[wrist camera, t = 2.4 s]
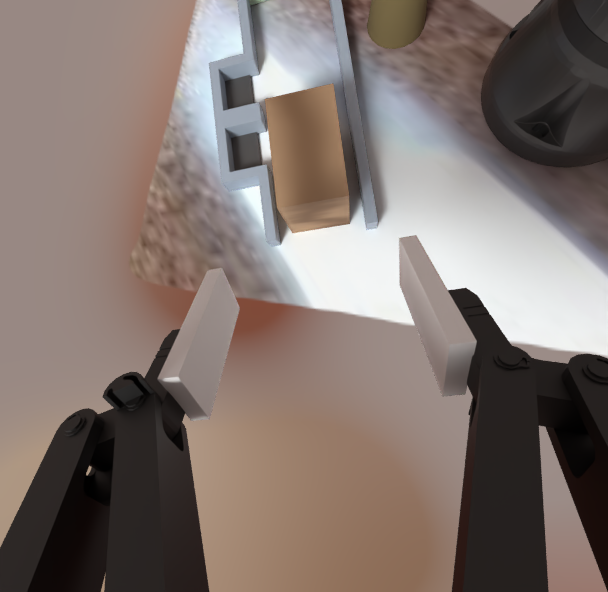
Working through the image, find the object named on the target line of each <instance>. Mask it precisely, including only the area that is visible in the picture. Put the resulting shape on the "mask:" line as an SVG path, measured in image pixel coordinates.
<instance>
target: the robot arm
mask: <svg viewBox="0 0 608 592" xmlns="http://www.w3.org/2000/svg"><path fill="white" fill-rule="evenodd" d="M481 102H482V109H483V113H484V116H485V119H486V121H487V124H488V126H489V127H490V129H491V131H492V132H493V134H494V135H495V136H496V137H497V139H498V140H499V141H500V142H501V143H502V144H503V145H505V146H506V147H507V148H508V149H510V150H511V151H512V152H514V153H515V154H517V155H519V156H521V157H523V158H525V159H527V160H530V161H533V162H536V163H539V164H543V165H549V166H556V167H575V166H583V165H588V164H592V163H596V162H599V161H602V160H605V159H607V158H608V0H541V1H540V2H539V3H538V4H537V5H536V6H535V7H534V9H533V10H532V11H531V12H530V14H528V15H527V16H526V17H525V18H523V19H522V20H521V21H520V22H519V23H518V24H517V25H516V26H515V27H514V28H513V29H512V30H511V31H510V33H509V34H508V35H507V36H506V38H505V39H504V40H503V42H502V43H501V45H500V46H499V48H498V50H497V52H496V54H495V56H494V58H493V59H492V61H491V63H490V65H489V67H488V69H487V71H486V74H485V77H484V80H483V84H482V91H481ZM399 259H400V287H401V289H402V292H403V294H404V297H405V300H406V302H407V305H408V308H409V310H410V313H411V315H412V318H413V321H414V323H415V326H416V328H417V331H418V334H419V336H420V339H421V342H422V344H423V347H424V349H425V352H426V355H427V357H428V360H429V362H430V365H431V367H432V370H433V372H434V376H435V378H436V381H437V383H438V386H439V388H440V391H441V394H442V396H452V395H462V394H463V395H464V394H465V393H466V389H467V385H468V387H469V389H470V392H471V394H472V396H473V399H472V402H471V406H470V410H469V415H470V420H469V421H470V422H469V431H468V440H467V450H466V459H465V469H464V479H463V488H462V498H461V508H460V517H459V527H458V538H457V546H456V556H455V565H454V575H453V585H452V592H548V579H547V578H548V577H547V560H546V543H545V526H544V511H543V492H542V477H541V476H542V475H541V460H540V459H541V458H540V441H539V425H540V426H545V427H546V429H547V432H548V435H549V437H550V440H551V442H552V445H553V448H554V450H555V453H556V456H557V458H558V461H559V464H560V466H561V469H562V471H563V474H564V477H565V480H566V482H567V485H568V488H569V490H570V493H571V496H572V498H573V501H574V504H575V506H576V509H577V512H578V514H579V517H580V519H581V522H582V525H583V527H584V530H585V533H586V535H587V538H588V541H589V543H590V546H591V548H592V551H593V554H594V557H595V559H596V562H597V564H598V567H599V570H600V572H601V575H602V578H603V581H604V583H605V586H606V589H607V591H608V359H607V358H605V357H602V356H599V355H592V354H580V355H576V356H574V357H572V358H571V359H570V361H569V363H568V364H565V363H558V362H550V361H543V360H538V359H534V358H531V357H530V356H529V355H528V354H527V353H526V352H525V351H523V350H521V349H519V348H518V347H514V346H512V345H511V344H510V343H509V341H508V340H507V338H506V337H505V335H504V334H503V333H502V331H501V330H500V328H499V327H498V325H497V324H496V322H495V321H494V319H493V318H492V316H491V315H489V312H488V311H487V309H486V308H485V307H484V305H483V303H482V302H481V300H480V299H479V297H478V296H477V295H476V294H474V293H473V292H471V291H470V290H468V289H467V288H462V289H455V290H447V288H446V287H445V285H444V283H443V281H442V280H441V278H440V276H439V274H438V273H437V271H436V269H435V267H434V266H433V264H432V262H431V260H430V259H429V257H428V255H427V253H426V252H425V250H424V248H423V246H422V245H421V243H420V241H419V239H418V238H417V236H416V235H415V236H409V237H403V238H399ZM239 309H240V308H239V305H238V303H237V301H236V298H235V296H234V294H233V292H232V289H231V287H230V285H229V283H228V280H227V278H226V276H225V274H224V271H223V269H222V268H218V269H212V270H208V271H207V273H206V275H205V277H204V279H203V282H202V284H201V286H200V288H199V290H198V292H197V295H196V297H195V299H194V301H193V303H192V305H191V307H190V310H189V312H188V314H187V317H186V318H185V320H184V323H183V325H182V327H181V329H178V330H172V332H171V333H170V334H169V335H168V336H167V337H166V338H165V339H164V341H163V343H162V345H161V347H160V351H158V353H157V355H156V359H154V361H153V363H152V365H151V367H150V369H149V371H148V373H147V374H146V376H145V378H143V377H142V375H141V374H139V373H137V372H129V373H126V374H123V375H122V376H120V377H118V378H116V379H115V380H114V381H113V382H112V383H111V384H109V386H108V387H107V389H106V390H105V392H104V395H103V398H104V399H105V400H106V401H107V402H108V403H109V404H110V405H111V406H113V407H114V408H113V409H111V410H108V411H106V412H103V413H101V414H97V413H96V412H95V411H94V410H92V409H89V408H88V409H82V410H79V411H77V412H75V413H74V414H72V415H71V416H69V417H68V418H67V419H66V420H65V421H64V422H63V423H62V424H61V425H60V427H59V428H58V430H57V431H56V434H55V435H54V438H53V440H52V442H51V444H50V446H49V448H48V450H47V452H46V454H45V456H44V459H43V460H42V462H41V464H40V467H39V469H38V471H37V473H36V475H35V477H34V479H33V481H32V483H31V485H30V487H29V489H28V492H27V493H26V496H25V498H24V500H23V502H22V504H21V506H20V508H19V510H18V512H17V514H16V516H15V518H14V520H13V523H12V524H11V527H10V529H9V531H8V533H7V535H6V537H5V539H4V541H3V544H2V545H1V547H0V592H101V588H102V584H103V580H104V576H105V572H106V576H105V590H104V592H209V586H208V580H207V573H206V565H205V558H204V552H203V544H202V537H201V531H200V523H199V516H198V509H197V502H196V495H195V489H194V481H193V474H192V467H191V460H190V453H189V446H188V439H187V433H186V428H185V426H184V424H183V423H182V421H183V417H184V415H185V414H186V415H187V416H188V417H189V418H190V420H191V421H194V420H204V419H210V415H211V412H212V408H213V404H214V401H215V397H216V393H217V390H218V386H219V382H220V379H221V375H222V371H223V368H224V364H225V360H226V357H227V353H228V349H229V346H230V342H231V338H232V334H233V331H234V327H235V324H236V320H237V316H238V313H239ZM89 466H91V467H92V468H91V471H90V473H89V475H88V476H87V475H86V472H87V470H88V467H89Z"/></svg>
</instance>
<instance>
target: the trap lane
mask: <svg viewBox="0 0 608 592" xmlns="http://www.w3.org/2000/svg"><path fill="white" fill-rule="evenodd" d="M264 1H268V0H237V2H238V10H239V19H240V27H241V35H242V44H243V52H244V54H240V55H237V56H233V57H229V58H225V59H222V60H218V61H214V62H210V63H209V69H210V78H211V88H212V97H213V107H214V116H215V126H216V135H217V145H218V154H219V164H220V173H221V183H222V184H223V185H224V186H225V188H226V189H227V190H228V191H234V190H239V189H244V188H249V187H253V186H258V185H260V193H261V201H262V210H263V218H264V226H265V235H266V242H267V243H268V244H269V245H270V246H277V245H281V244H280V236H279V228H278V220H277V212H276V205H275V197H274V189H273V181H272V174H271V172H270V170H269V168H268V166H267V164H266V165H261V157H260V149H259V141H258V133H262V132H266V125H265V117H264V113H263V111H262V108H261V106H260V104H259V102H257V103H254V100H253V91H252V83H251V77H252V76H256V75H259V70H258V62H257V54H256V46H255V38H254V30H253V22H252V14H251V6H250V5H254V4H257V3H261V2H264ZM329 1H330V7H331V13H332V20H333V26H334V32H335V38H336V44H337V51H338V57H339V63H340V69H341V75H342V82H343V88H344V94H345V100H346V106H347V113H348V119H349V125H350V131H351V137H352V144H353V150H354V156H355V162H356V168H357V175H358V181H359V187H360V193H361V199H362V206H363V212H364V218H365V224H366V230H369V229H375V228H377V224H378V218H377V212H376V206H375V200H374V194H373V188H372V182H371V176H370V170H369V164H368V158H367V152H366V146H365V140H364V134H363V128H362V122H361V116H360V110H359V104H358V98H357V92H356V86H355V80H354V74H353V68H352V62H351V56H350V50H349V44H348V38H347V32H346V26H345V20H344V14H343V8H342V2H341V0H329Z"/></svg>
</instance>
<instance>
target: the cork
mask: <svg viewBox="0 0 608 592" xmlns="http://www.w3.org/2000/svg"><path fill="white" fill-rule="evenodd" d="M426 8H427V0H372V2H371V7H370V12H369V18H368V23H367V29H368V34H369V36H370V38H371V39H372V41H374V42H375V43H376V44H377V45H379V46H382V47H384V48H392V49H396V48H400V47H404V46H406V45H408V44H410V43H412V42H413V41H414V40H415V39H416V38H417V37H419V35H420V34H421V32H422V30H423V28H424V24H425V18H426Z"/></svg>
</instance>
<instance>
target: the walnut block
mask: <svg viewBox="0 0 608 592" xmlns="http://www.w3.org/2000/svg"><path fill="white" fill-rule="evenodd" d="M265 104H266V113H267V122H268V131H269V140H270V149H271V158H272V167H273V176H274V185H275V194H276V203H277V209H278V211H279V212H280V214H281V215H282V217H283V219H284V220H285V222H286V223H287V225H288V227H289V228H290V230H291V231H292V233H297V232H303V231H309V230H315V229H321V228H327V227H333V226H339V225H346V224H350V219H349V191H348V184H347V177H346V170H345V162H344V155H343V148H342V141H341V134H340V127H339V120H338V113H337V106H336V99H335V92H334V85H333V84H329V85H324V86H320V87H316V88H311V89H307V90H303V91H298V92H294V93H289V94H285V95H281V96H276V97H272V98H268V99H265Z"/></svg>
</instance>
